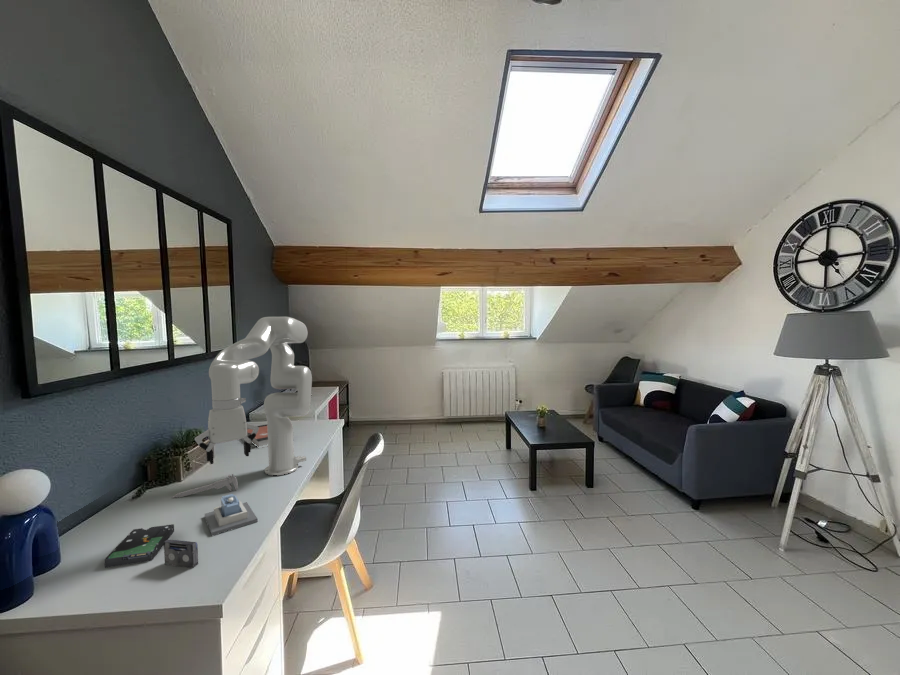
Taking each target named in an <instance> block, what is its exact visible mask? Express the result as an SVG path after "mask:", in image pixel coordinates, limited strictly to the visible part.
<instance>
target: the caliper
mask: <svg viewBox="0 0 900 675" xmlns="http://www.w3.org/2000/svg"><path fill="white" fill-rule="evenodd" d="M238 481H239V480H238V479H237V477H236V475H235V476H234V473H231V475H230V474H228V477H225V478H223V479H220V480H216V481H214V482H213V483H210V484H206V485H203V486H202V485H201V486H199V487H195V488H191V489H188V490H185V491H181V492H180V491H179V492H178V493H176V494H175V495H173V496H172V497H171V499H174V498H176V499H177V498H178V497H179V498H183V497H187V496H191V495H194V494H199V493H201V492H204V491H208V490H212V489H215V490H218V489H222V488H224V487H226V488H227V490H228V491H230V492H233V488H232V485H231V484H233V487H234V489H235V491H237V490H238V489H239V485H238Z"/></svg>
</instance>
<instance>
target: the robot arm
mask: <svg viewBox="0 0 900 675" xmlns="http://www.w3.org/2000/svg"><path fill="white" fill-rule="evenodd" d="M308 333H309V332H308V328H307V326H306V324H305V323H303V322H302V321H300V320H299V319H296V318H294V317H291V316H264V317H261V318H259V319H258V320H257V321H256V323H255V324H254V325H253V327H252V328H251V329H250V331H249V332H248V334H247V335H246V336H245V338H242V339H240V340H238V341H236V342H235V343H233V344H230V345H228V346H226V347H225V348H223V349H222V350H220V352H218V353H217V355H216V356H215V358H213V360H212V362H211V363H210V366H209V369H208V377H209V380H210V384H211V399H212V400H211V403H212V404H211V406H212V409H209V412H208V418H207V419H208V421H207V430H205V431H203V432H201V434H199V435H197V436H196V437H194V441H195V442H196V444H197V445H198V446H199V447H200V448H201V449H203V450H205V451H206V452H205V453H206V454H205V455H206V462H209V464H210V465H214V462H215V461H214V450H213V448H214V447H215V445H219V444H222V443H229V442H234V441H238V440H243V441H244V442H243V454H244V455H245V457H249V456H250V453H251V444H252V443H251V442H252V440H253V439H254V438H255V437H256V434H257V432H258V430H259V427H257V426H258V425H254V424H250V423H247V418H246V413H245V409H244V406H243V405H242V404H244V403H247V400H246V399H247V398H246V397H241V385H242V384H250V383H252V382H254V381H256V379H257V378H258V377H259V374H260V368H259V365H258V364H257V363H256V361H253V359H255V358H258V357H262V356H263V355H265V354H266V353H267V352H268V351H269V350H270V352H271V367H270V368H271V369H270V386H271V387H272V388H273V389H276V390H297V392H274V393H270V394H268V395H266V397H265V398H264V402H263V408H264V413H265V417H266V424H267V428H268V446H267V448H268V449H267V451H268V465H267V466H266V467H265V468H264V473H265V474H266V475H267V474H268V476H273V475H277V476H282V475H283V476H284V474H285V475H288V473H289V474H292V473H294V472H295V471H297V470H299V469H298V468H299V463H301V462H306V461H307V456H305V455H304V456H302V455H298V456H295V447H294V444H295V443H294V441H293V439H294V426H293V422H292V420H291V419H290V418H289V417H303V416H306V415H308V414H309V413H310V409H311V405H312V404H311V401H312V385H313V377H312V376H313V375H312V371H311V369H310V368H309V367H308V366H306V365H295V353H294V350H293V349H292V348H291V347H290V345H289V344H302V343H304V342H305V341H306V340H307V338H308V335H309V334H308ZM247 428H248V429H252V430H253V431H252V433H251V434H250V435H249V436H248V437H247ZM207 437H208V443H205V442H203V439H205V438H207Z"/></svg>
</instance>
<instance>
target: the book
mask: <svg viewBox="0 0 900 675" xmlns="http://www.w3.org/2000/svg"><path fill="white" fill-rule="evenodd" d="M256 426H257V427H259V430H258V432H257V434H256V437H255V438H254V439H253V440H252V442H253V443H254V444H256V445H257V446H258V447H259V446H263V445H267V444H268V428H267V423H266V424H260V425H256ZM252 431H253V430H252V429H248V428H247V437H248V436H249V435H250V434H251V433H252Z"/></svg>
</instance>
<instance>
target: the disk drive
mask: <svg viewBox="0 0 900 675" xmlns="http://www.w3.org/2000/svg"><path fill="white" fill-rule="evenodd" d="M174 532H175V524H166V525H155V526H150V527H149V528H147V529H144V528H142V527H141V528H134V529H132V530H131V531H130V532H129V533H128V535H126V537H125V538H124V539H123V540H121V542H119V543H118V545H117V546H116V547H115V548H114V549H113V550H112V551H111V552H110V553H109V554H108V555H107V557H105V558H104V568H105V569H108V568H113V567H119V566H120V567H121V566H125V565H132V564H140V563H145V562H152V561H153V560H154V558H155V557H156V556H157V554H158V553H159V552H160V550H162V549H163V548H164V542H165V541H166V540H170V537H171V536H172V535H173V533H174Z"/></svg>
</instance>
